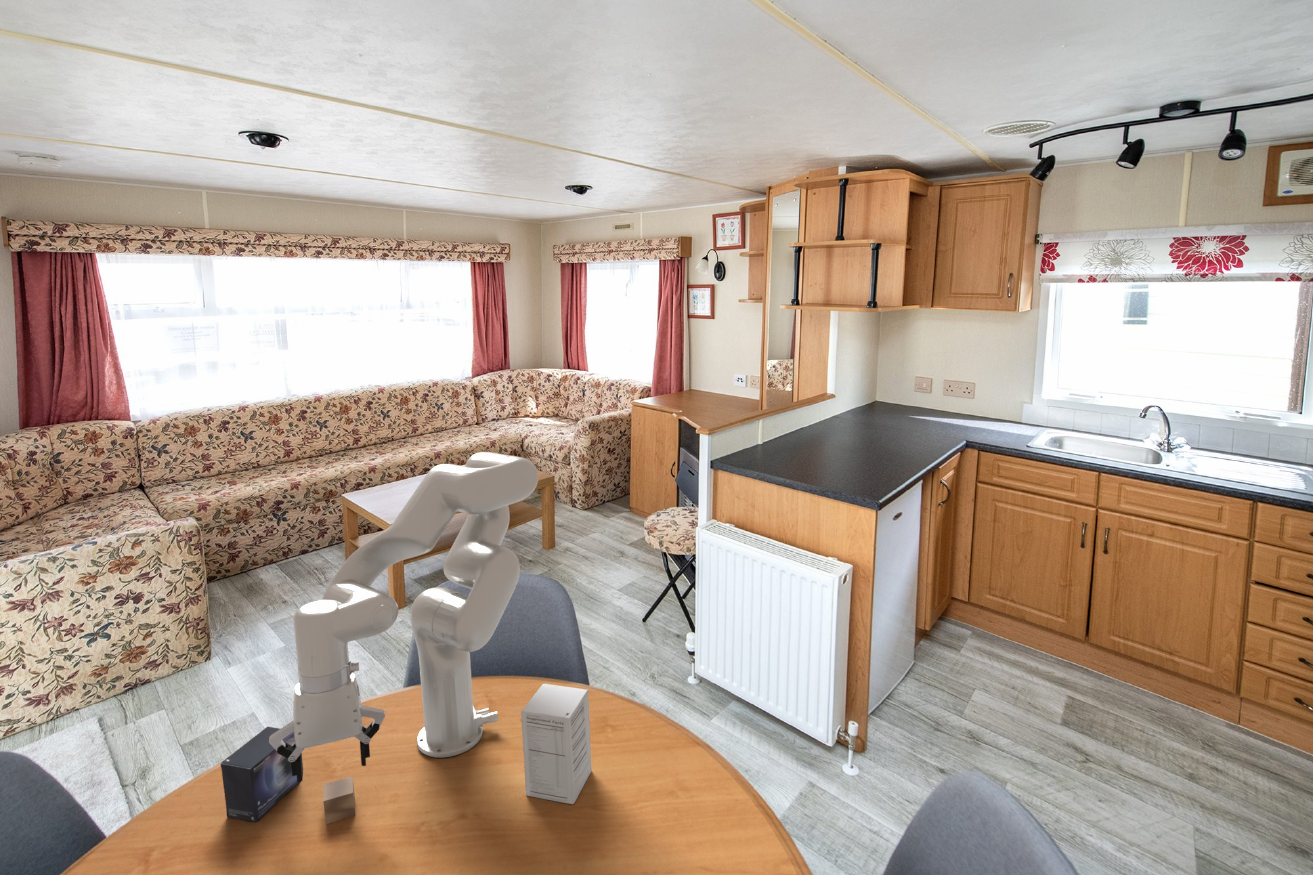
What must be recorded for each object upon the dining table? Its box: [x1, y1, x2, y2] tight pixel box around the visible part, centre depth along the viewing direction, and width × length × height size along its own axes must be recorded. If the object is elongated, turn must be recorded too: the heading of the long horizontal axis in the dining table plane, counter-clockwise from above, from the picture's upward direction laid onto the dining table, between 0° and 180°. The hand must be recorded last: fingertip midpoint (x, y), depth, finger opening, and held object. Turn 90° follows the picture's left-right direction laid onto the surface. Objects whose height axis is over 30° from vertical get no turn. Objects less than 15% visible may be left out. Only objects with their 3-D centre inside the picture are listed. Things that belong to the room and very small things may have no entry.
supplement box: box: [520, 683, 592, 805], centre depth 117 cm, size 10×9×17 cm
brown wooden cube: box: [322, 775, 356, 825], centre depth 112 cm, size 4×4×4 cm
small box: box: [220, 726, 299, 823], centre depth 114 cm, size 11×6×10 cm, turn 168°
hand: (332, 769), depth 110 cm, fingers open, 9 cm apart
